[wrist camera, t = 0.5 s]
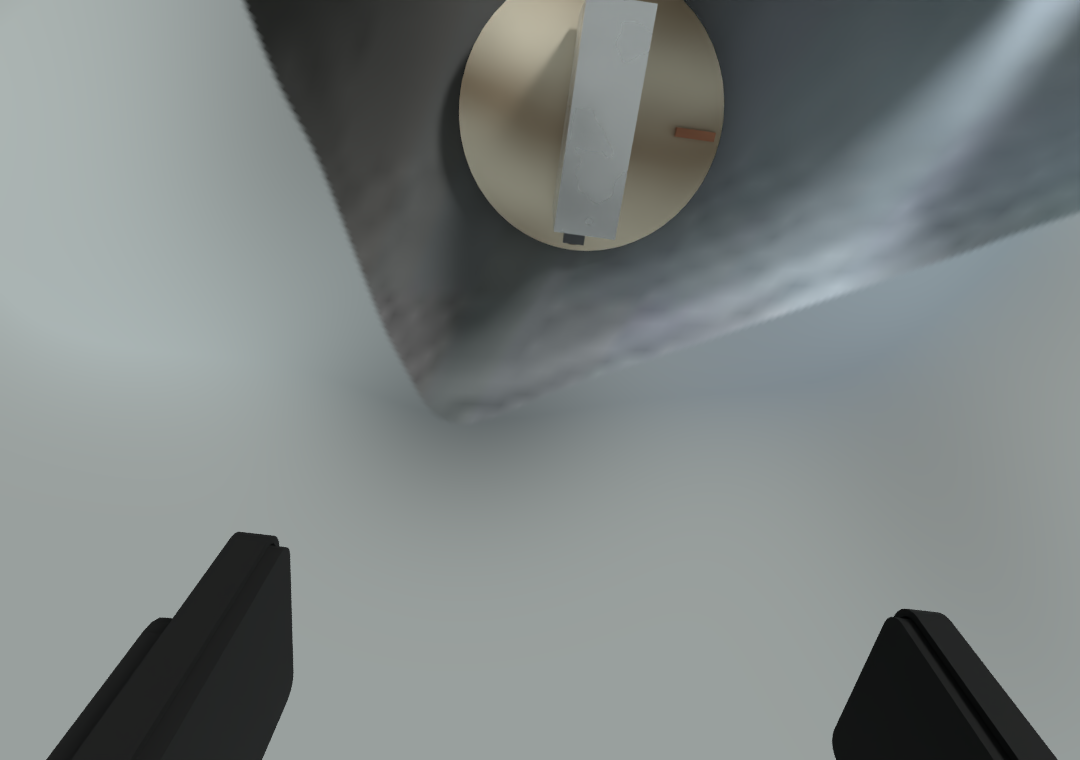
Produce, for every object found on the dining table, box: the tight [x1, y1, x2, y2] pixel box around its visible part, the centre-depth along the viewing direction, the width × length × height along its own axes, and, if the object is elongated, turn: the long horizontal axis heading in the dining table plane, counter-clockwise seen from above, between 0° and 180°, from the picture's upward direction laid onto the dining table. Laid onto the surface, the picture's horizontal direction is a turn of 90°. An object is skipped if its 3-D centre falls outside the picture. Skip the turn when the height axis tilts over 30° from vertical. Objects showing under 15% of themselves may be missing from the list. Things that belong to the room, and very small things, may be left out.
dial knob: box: [553, 0, 658, 246], centre depth 26 cm, size 10×2×6 cm, turn 172°
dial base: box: [459, 0, 724, 251], centre depth 30 cm, size 12×12×2 cm
